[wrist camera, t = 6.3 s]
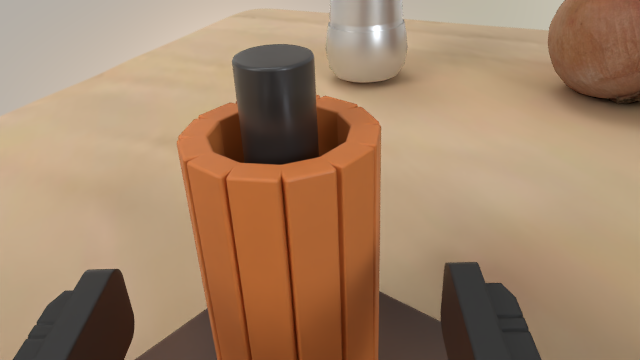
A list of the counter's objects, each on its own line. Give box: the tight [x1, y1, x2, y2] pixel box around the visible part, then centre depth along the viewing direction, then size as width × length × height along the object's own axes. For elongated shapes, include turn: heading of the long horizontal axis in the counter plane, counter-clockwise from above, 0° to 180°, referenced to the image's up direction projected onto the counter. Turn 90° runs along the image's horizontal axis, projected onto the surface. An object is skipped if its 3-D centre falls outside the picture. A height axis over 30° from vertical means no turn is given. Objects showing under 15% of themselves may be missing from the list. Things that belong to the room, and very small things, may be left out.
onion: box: [548, 0, 640, 104], centre depth 40 cm, size 10×9×10 cm
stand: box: [135, 44, 448, 360], centre depth 17 cm, size 10×10×12 cm
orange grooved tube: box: [177, 95, 381, 360], centre depth 17 cm, size 5×5×9 cm
